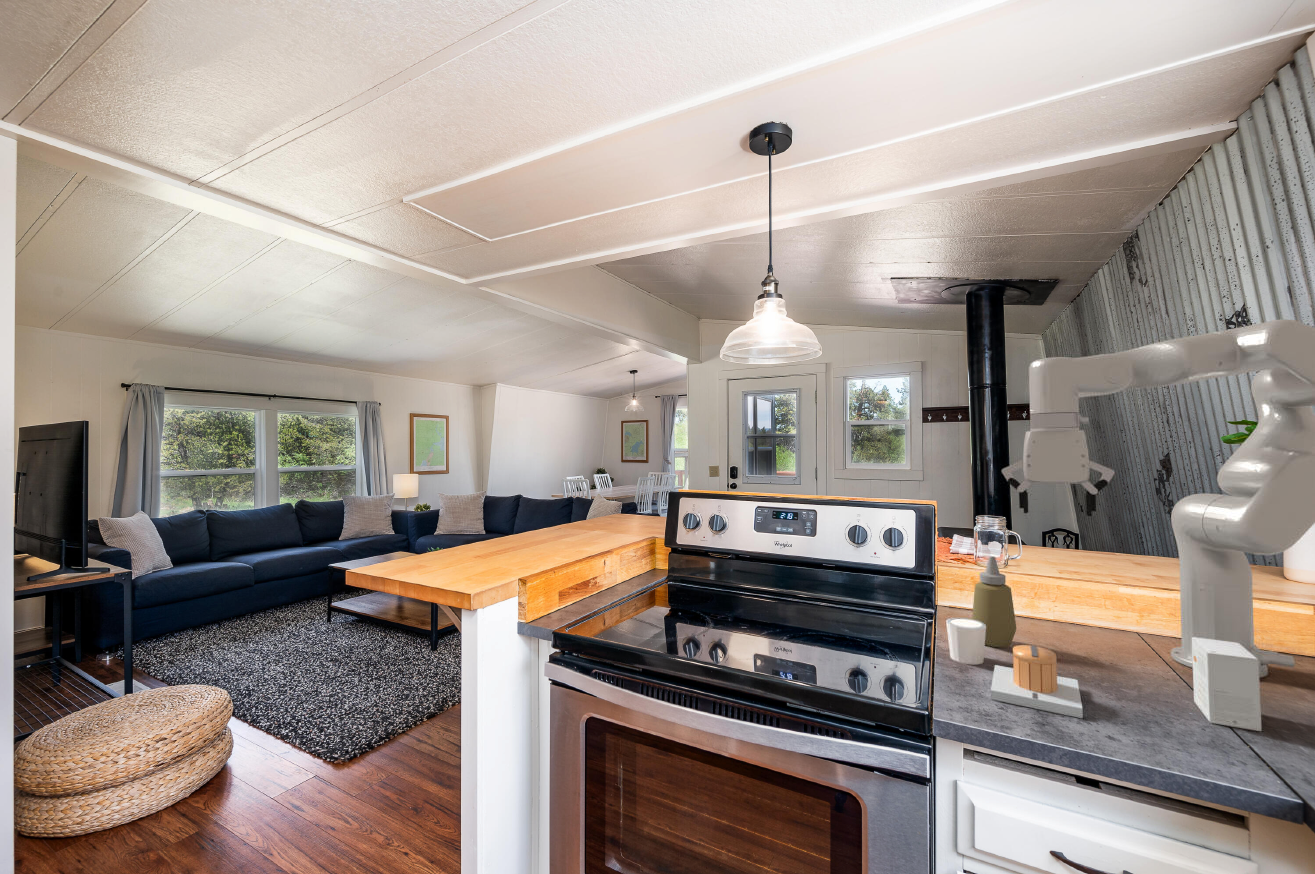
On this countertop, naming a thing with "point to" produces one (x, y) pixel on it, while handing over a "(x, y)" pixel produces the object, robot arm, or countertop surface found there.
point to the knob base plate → (1037, 694)
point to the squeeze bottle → (994, 606)
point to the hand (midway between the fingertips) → (1056, 513)
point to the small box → (1226, 683)
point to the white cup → (966, 640)
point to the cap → (1035, 668)
